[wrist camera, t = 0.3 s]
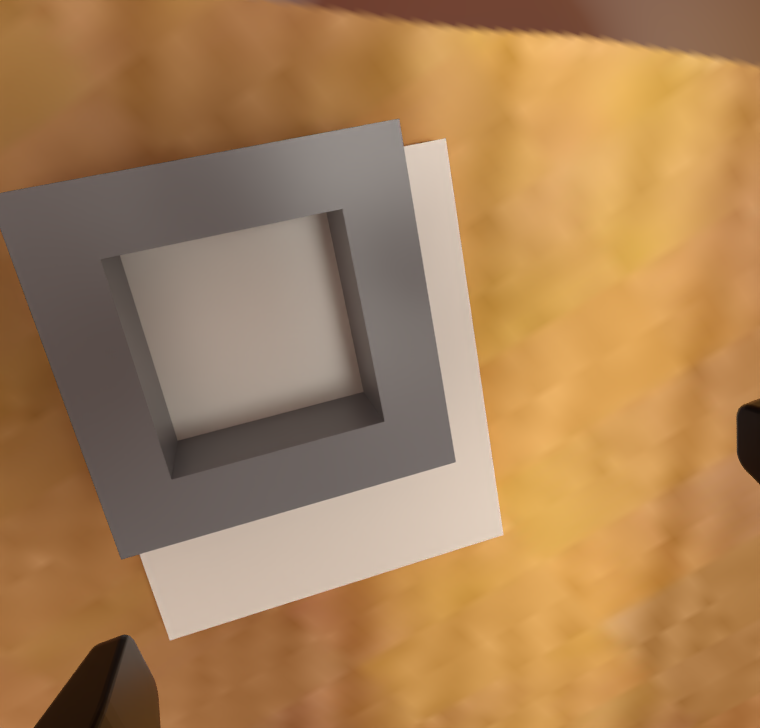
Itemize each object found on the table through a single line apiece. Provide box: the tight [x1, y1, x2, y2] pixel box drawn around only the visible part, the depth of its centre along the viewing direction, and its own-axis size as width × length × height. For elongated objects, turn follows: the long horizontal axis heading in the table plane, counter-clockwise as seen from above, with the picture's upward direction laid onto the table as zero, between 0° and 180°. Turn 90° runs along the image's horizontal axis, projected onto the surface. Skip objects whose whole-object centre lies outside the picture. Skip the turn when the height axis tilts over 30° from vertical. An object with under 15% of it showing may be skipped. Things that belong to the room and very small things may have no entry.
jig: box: [0, 119, 503, 640], centre depth 21 cm, size 16×13×4 cm
